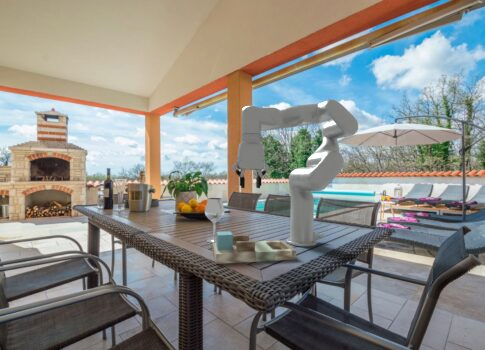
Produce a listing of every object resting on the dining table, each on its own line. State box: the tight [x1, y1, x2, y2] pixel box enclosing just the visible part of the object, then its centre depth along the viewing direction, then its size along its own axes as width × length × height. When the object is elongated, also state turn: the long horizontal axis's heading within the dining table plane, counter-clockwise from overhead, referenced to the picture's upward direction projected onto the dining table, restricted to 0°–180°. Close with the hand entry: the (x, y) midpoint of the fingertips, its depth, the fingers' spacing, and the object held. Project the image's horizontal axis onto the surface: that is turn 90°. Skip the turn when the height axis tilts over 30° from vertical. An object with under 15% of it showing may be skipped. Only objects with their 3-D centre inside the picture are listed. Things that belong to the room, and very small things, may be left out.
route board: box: [211, 234, 297, 265], centre depth 86 cm, size 27×13×6 cm, turn 102°
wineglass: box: [204, 197, 225, 244], centre depth 104 cm, size 8×8×18 cm
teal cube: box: [215, 230, 234, 250], centre depth 84 cm, size 5×5×5 cm
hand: (250, 187), depth 93 cm, fingers open, 5 cm apart
